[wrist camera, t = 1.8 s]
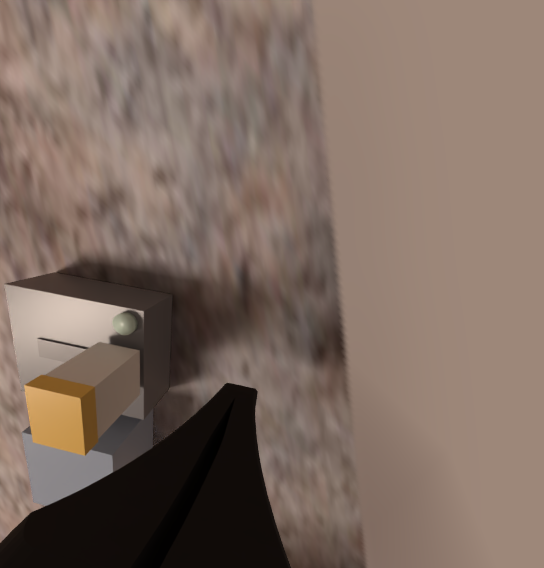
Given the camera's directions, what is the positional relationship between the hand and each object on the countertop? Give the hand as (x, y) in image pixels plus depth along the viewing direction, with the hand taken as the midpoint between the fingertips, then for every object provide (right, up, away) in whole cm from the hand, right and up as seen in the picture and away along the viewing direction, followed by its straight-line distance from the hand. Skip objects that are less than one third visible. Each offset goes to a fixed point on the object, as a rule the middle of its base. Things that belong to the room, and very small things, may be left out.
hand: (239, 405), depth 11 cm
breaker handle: (-6, +1, +1) cm, 6 cm away
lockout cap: (-9, -4, +6) cm, 11 cm away
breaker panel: (-8, +2, +4) cm, 9 cm away
